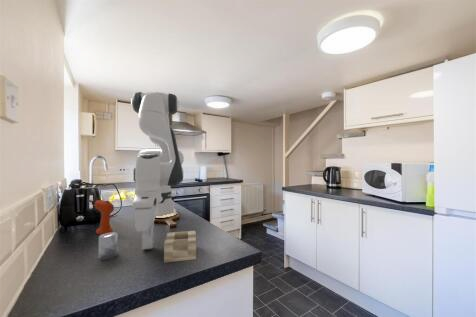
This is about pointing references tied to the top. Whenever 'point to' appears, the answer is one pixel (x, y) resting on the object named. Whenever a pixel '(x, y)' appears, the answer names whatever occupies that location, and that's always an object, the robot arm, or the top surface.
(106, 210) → the toy drill
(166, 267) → the top surface
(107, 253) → the round bit
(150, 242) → the square bit
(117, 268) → the top surface
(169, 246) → the socket block
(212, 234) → the top surface
